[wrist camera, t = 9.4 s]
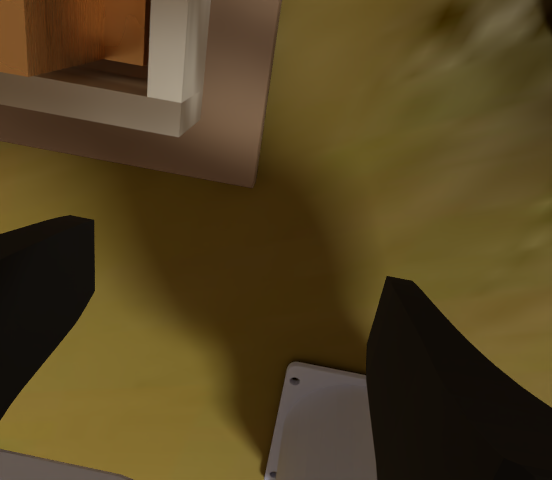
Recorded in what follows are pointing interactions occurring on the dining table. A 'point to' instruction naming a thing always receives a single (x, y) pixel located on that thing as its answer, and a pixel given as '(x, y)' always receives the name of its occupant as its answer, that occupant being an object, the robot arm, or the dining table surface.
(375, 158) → the dining table surface
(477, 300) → the dining table surface
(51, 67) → the wooden stepped block
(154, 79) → the well block
